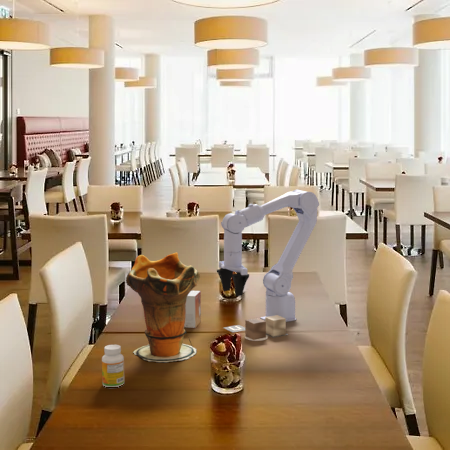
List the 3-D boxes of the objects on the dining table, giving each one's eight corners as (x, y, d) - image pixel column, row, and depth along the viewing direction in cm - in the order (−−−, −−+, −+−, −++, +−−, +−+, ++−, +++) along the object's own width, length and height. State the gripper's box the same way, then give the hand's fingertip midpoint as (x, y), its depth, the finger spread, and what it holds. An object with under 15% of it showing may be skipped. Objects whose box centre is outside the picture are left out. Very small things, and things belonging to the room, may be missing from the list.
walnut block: (257, 333, 213) (257, 317, 213) (265, 337, 209) (266, 321, 209) (245, 336, 211) (245, 320, 210) (253, 339, 207) (253, 323, 207)
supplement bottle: (103, 381, 175) (102, 343, 174) (125, 380, 175) (124, 343, 174) (101, 389, 170) (100, 350, 168) (123, 388, 170) (122, 350, 169)
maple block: (277, 330, 217) (277, 315, 216) (285, 334, 213) (285, 318, 212) (265, 332, 215) (265, 317, 214) (273, 336, 211) (273, 320, 210)
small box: (195, 328, 220) (195, 296, 219) (178, 327, 221) (178, 295, 220) (201, 321, 228) (201, 290, 227) (184, 320, 229) (184, 289, 228)
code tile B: (277, 330, 218) (277, 329, 218) (288, 335, 213) (288, 334, 213) (261, 333, 215) (261, 332, 215) (272, 338, 210) (272, 337, 210)
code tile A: (238, 325, 224) (238, 324, 224) (248, 330, 219) (248, 329, 219) (222, 328, 221) (222, 327, 221) (232, 332, 216) (232, 332, 215)
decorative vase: (146, 370, 181) (143, 264, 179) (118, 350, 202) (114, 254, 199) (218, 358, 191) (215, 257, 188) (183, 340, 211) (181, 248, 209)
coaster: (259, 333, 215) (259, 331, 215) (272, 339, 209) (272, 337, 209) (240, 336, 212) (240, 335, 212) (252, 342, 206) (252, 341, 206)
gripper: (210, 249, 226) (210, 289, 228) (234, 256, 213) (233, 299, 215) (229, 247, 229) (229, 287, 231) (253, 254, 217) (252, 296, 219)
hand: (232, 293), depth 223 cm, fingers open, 7 cm apart
